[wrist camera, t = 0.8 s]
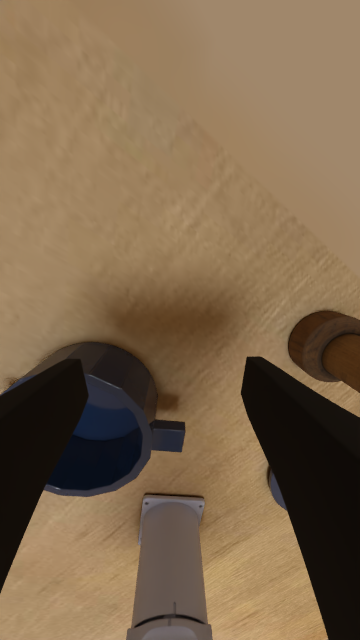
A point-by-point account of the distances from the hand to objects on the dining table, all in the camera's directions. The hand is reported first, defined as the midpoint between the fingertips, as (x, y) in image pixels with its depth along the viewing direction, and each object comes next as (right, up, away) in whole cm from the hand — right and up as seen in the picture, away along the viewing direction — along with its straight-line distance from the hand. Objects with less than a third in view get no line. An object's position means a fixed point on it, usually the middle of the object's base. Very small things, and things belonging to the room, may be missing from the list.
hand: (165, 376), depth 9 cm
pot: (-8, -6, +12) cm, 16 cm away
